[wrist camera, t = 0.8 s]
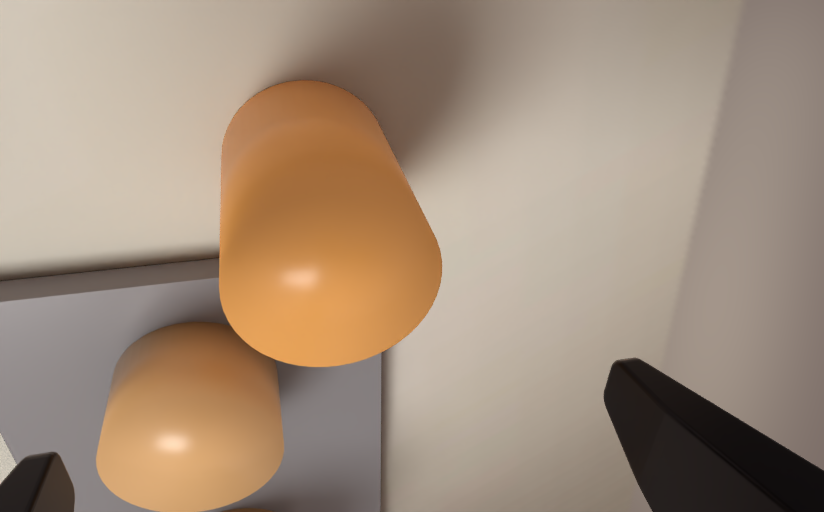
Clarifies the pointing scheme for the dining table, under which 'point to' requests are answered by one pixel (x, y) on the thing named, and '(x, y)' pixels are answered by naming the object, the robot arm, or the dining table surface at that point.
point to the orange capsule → (319, 230)
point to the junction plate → (129, 304)
